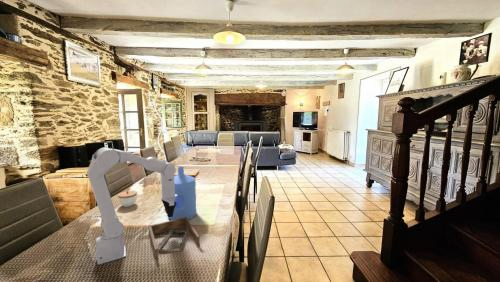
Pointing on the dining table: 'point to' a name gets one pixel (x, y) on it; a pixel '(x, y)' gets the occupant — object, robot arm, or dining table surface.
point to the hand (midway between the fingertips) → (169, 214)
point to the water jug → (184, 196)
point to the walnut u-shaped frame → (170, 226)
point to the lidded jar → (127, 198)
